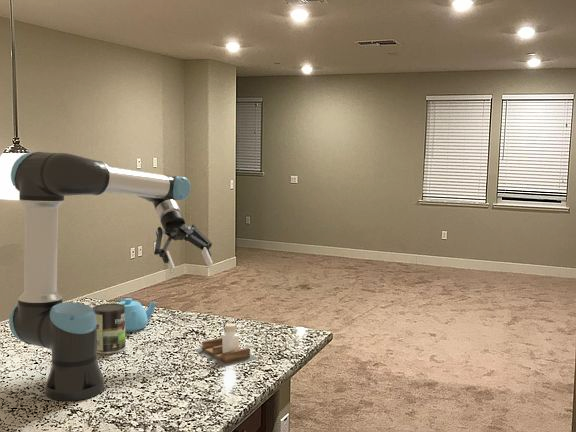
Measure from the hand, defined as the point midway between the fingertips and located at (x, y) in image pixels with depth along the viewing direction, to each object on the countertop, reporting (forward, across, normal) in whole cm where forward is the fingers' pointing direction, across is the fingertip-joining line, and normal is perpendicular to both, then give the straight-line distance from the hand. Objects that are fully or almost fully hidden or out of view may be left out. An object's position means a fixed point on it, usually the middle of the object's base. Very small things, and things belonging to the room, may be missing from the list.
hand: (192, 267), depth 201 cm
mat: (+26, -7, -13) cm, 30 cm away
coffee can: (+8, +21, -32) cm, 39 cm away
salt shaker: (+28, -7, -10) cm, 30 cm away
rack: (+26, -7, -13) cm, 30 cm away
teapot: (-6, +6, -46) cm, 46 cm away
